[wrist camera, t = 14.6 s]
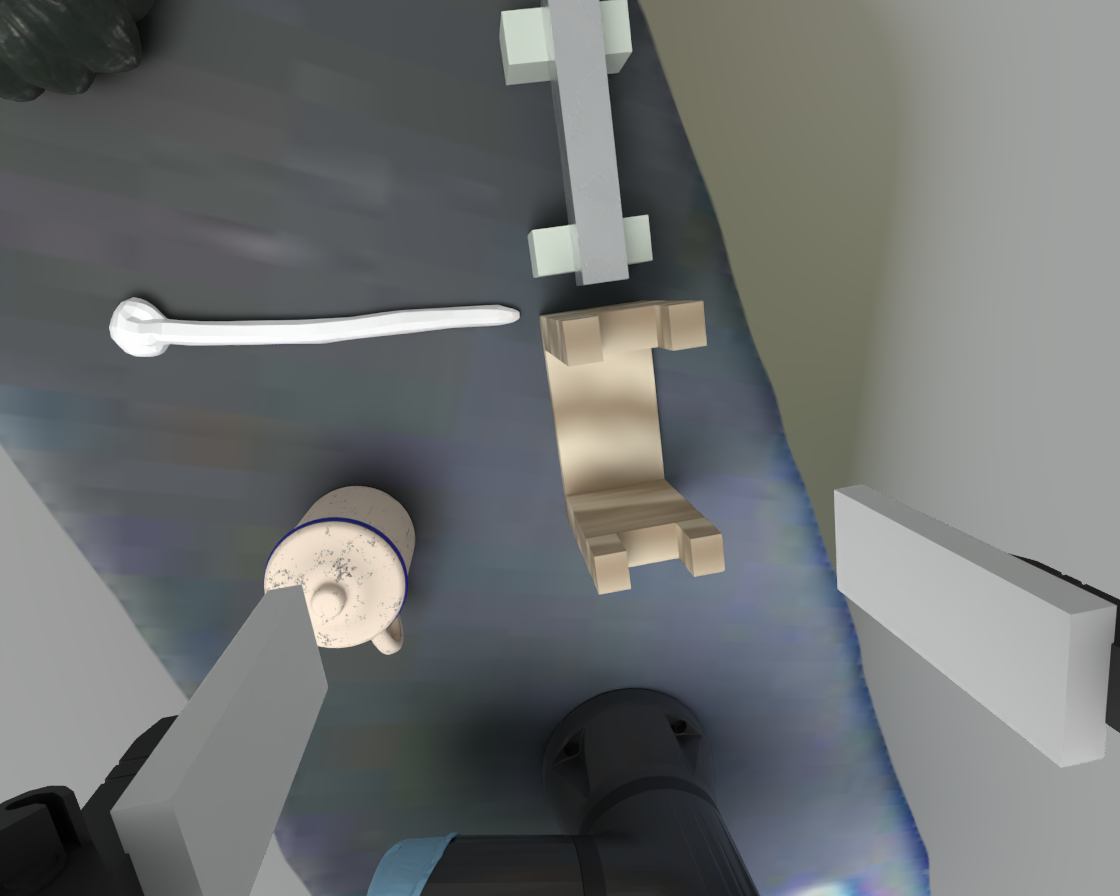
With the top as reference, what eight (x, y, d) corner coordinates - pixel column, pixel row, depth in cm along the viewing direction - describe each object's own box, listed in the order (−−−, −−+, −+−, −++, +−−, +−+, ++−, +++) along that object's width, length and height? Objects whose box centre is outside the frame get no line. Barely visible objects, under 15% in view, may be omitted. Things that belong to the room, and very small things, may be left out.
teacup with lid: (276, 513, 49) (216, 577, 38) (383, 461, 49) (356, 510, 38) (354, 638, 52) (320, 732, 41) (455, 589, 52) (450, 669, 41)
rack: (663, 503, 53) (725, 571, 40) (568, 520, 52) (599, 594, 39) (642, 300, 49) (703, 300, 36) (538, 315, 48) (562, 321, 35)
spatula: (515, 272, 48) (518, 270, 45) (520, 328, 49) (523, 329, 46) (114, 299, 45) (90, 299, 42) (127, 358, 46) (105, 361, 43)
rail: (618, 280, 44) (629, 278, 41) (576, 285, 44) (583, 285, 41) (586, -16, 40) (594, -40, 37) (538, -11, 40) (543, -36, 37)
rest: (638, 263, 48) (652, 260, 44) (533, 278, 47) (538, 276, 44) (613, 24, 44) (626, -2, 40) (499, 36, 44) (501, 11, 40)
